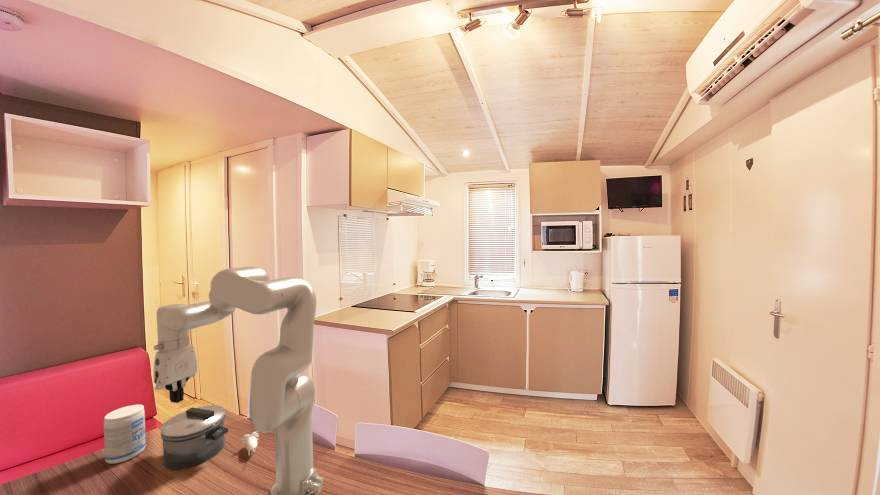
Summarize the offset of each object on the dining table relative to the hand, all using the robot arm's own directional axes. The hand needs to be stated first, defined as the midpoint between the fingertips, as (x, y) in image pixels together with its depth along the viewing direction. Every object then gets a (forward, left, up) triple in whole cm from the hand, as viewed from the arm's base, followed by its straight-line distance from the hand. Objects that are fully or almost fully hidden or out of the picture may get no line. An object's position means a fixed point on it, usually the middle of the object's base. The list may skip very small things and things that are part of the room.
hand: (177, 401), depth 96 cm
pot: (+1, -5, -20) cm, 21 cm away
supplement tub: (+23, +1, -21) cm, 30 cm away
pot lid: (+1, -5, -10) cm, 12 cm away
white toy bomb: (-18, -10, -21) cm, 29 cm away
